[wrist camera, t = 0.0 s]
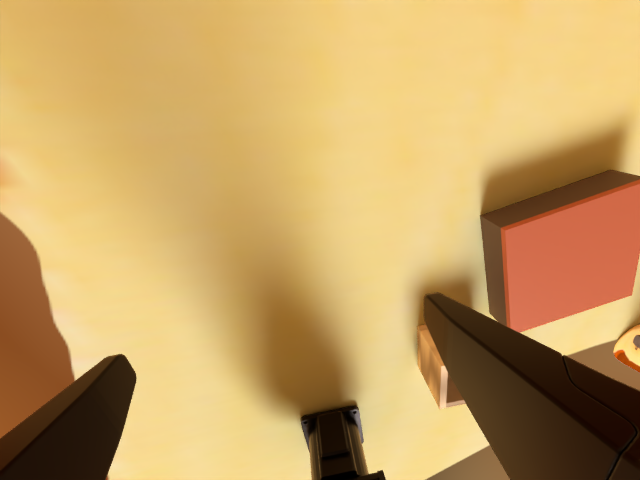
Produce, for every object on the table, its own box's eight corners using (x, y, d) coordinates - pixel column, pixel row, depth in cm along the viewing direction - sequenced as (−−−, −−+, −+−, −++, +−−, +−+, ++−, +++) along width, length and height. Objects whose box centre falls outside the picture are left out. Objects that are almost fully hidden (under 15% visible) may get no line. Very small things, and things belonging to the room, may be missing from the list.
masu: (468, 354, 32) (498, 396, 28) (417, 365, 32) (439, 408, 27) (472, 314, 30) (505, 352, 25) (417, 325, 29) (441, 366, 25)
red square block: (594, 273, 29) (631, 295, 26) (487, 310, 30) (511, 335, 27) (605, 168, 25) (653, 178, 22) (477, 214, 25) (505, 230, 22)
